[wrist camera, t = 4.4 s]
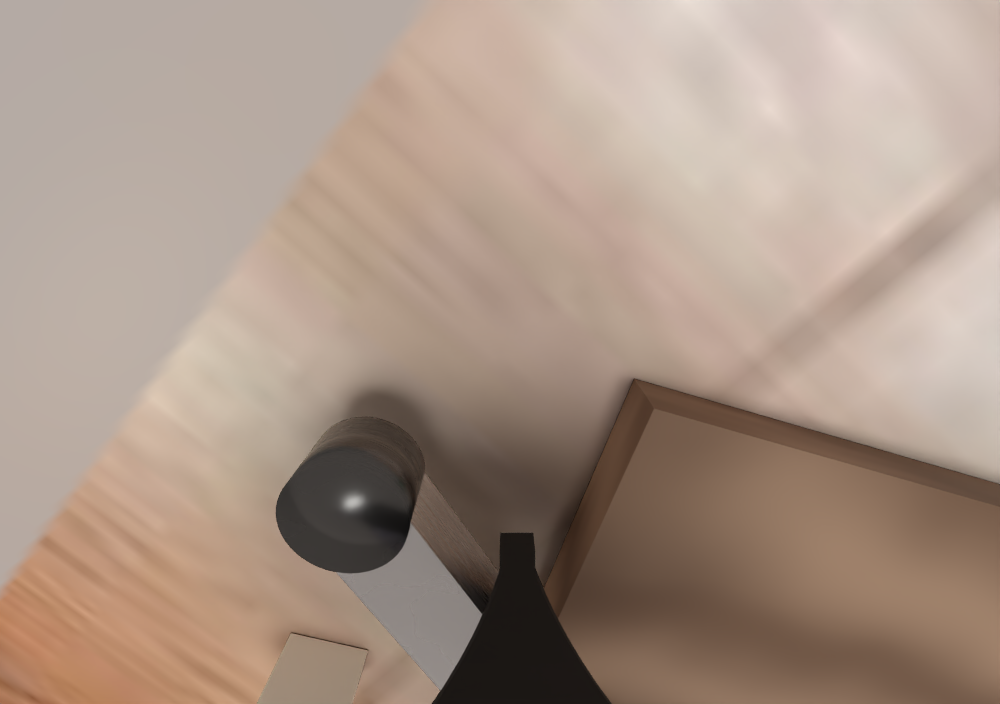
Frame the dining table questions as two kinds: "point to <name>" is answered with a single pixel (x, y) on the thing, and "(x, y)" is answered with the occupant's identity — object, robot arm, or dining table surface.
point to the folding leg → (389, 539)
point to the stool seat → (776, 566)
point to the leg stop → (314, 673)
